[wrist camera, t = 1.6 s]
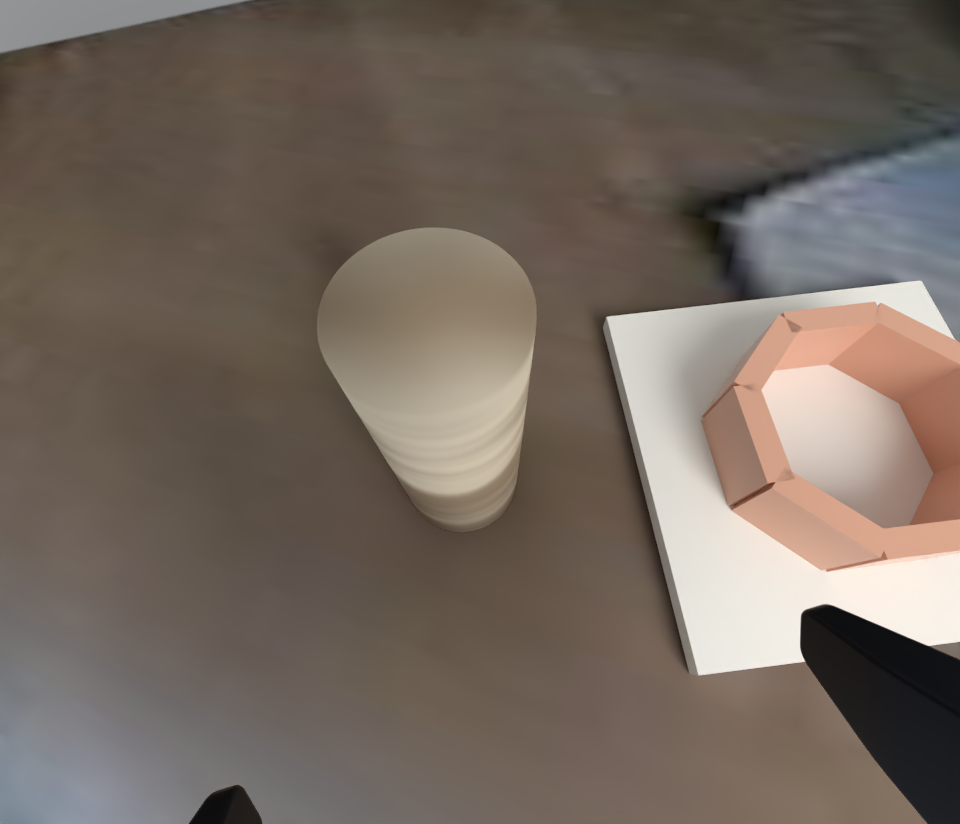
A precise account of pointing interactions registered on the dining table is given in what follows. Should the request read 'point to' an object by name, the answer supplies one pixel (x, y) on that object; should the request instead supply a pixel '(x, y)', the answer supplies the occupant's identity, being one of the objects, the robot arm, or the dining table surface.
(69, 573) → the dining table surface
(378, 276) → the beech peg
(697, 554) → the octagonal ring base
